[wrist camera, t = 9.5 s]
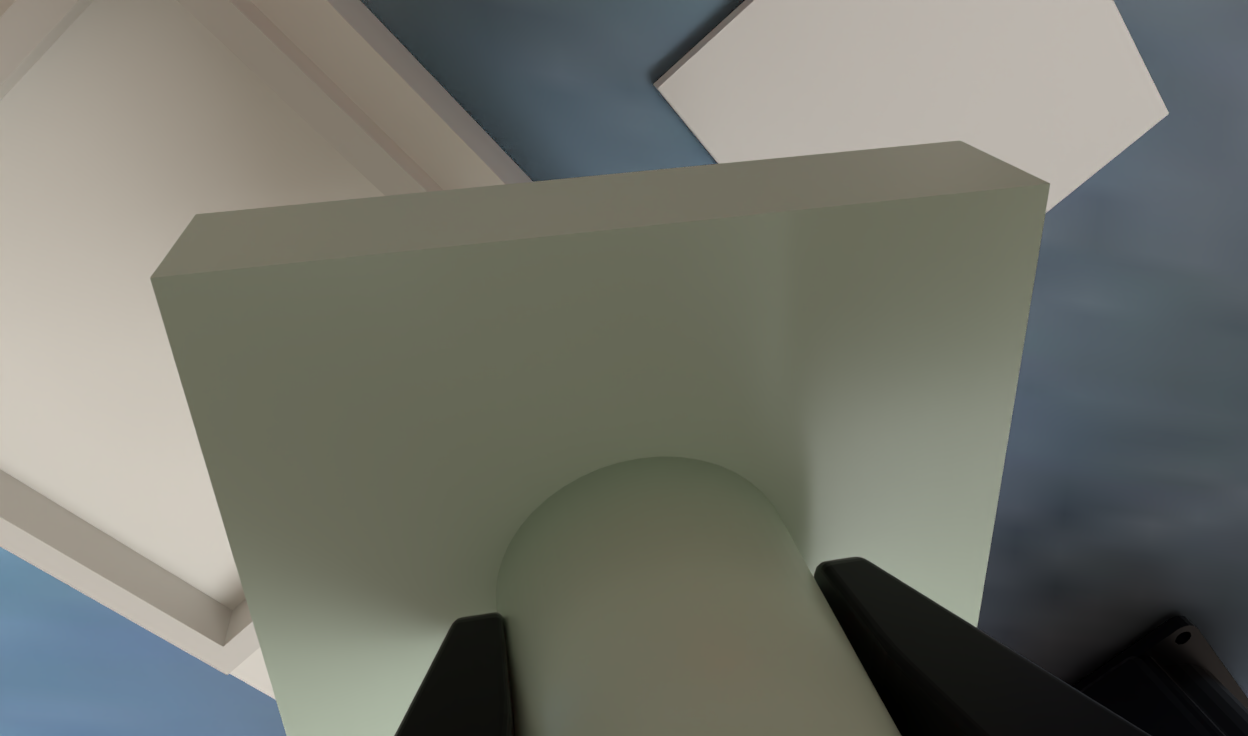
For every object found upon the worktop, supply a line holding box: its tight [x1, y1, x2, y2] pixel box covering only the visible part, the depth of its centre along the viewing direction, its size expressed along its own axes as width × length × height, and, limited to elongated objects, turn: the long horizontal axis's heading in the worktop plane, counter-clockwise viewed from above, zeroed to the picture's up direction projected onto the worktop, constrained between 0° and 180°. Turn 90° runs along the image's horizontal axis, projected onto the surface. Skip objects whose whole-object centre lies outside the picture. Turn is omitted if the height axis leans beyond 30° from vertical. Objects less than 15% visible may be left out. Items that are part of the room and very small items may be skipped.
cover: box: [150, 141, 1050, 736], centre depth 8 cm, size 7×7×6 cm
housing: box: [0, 0, 533, 700], centre depth 19 cm, size 21×11×4 cm, turn 40°
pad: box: [653, 0, 1169, 213], centre depth 19 cm, size 8×8×1 cm
